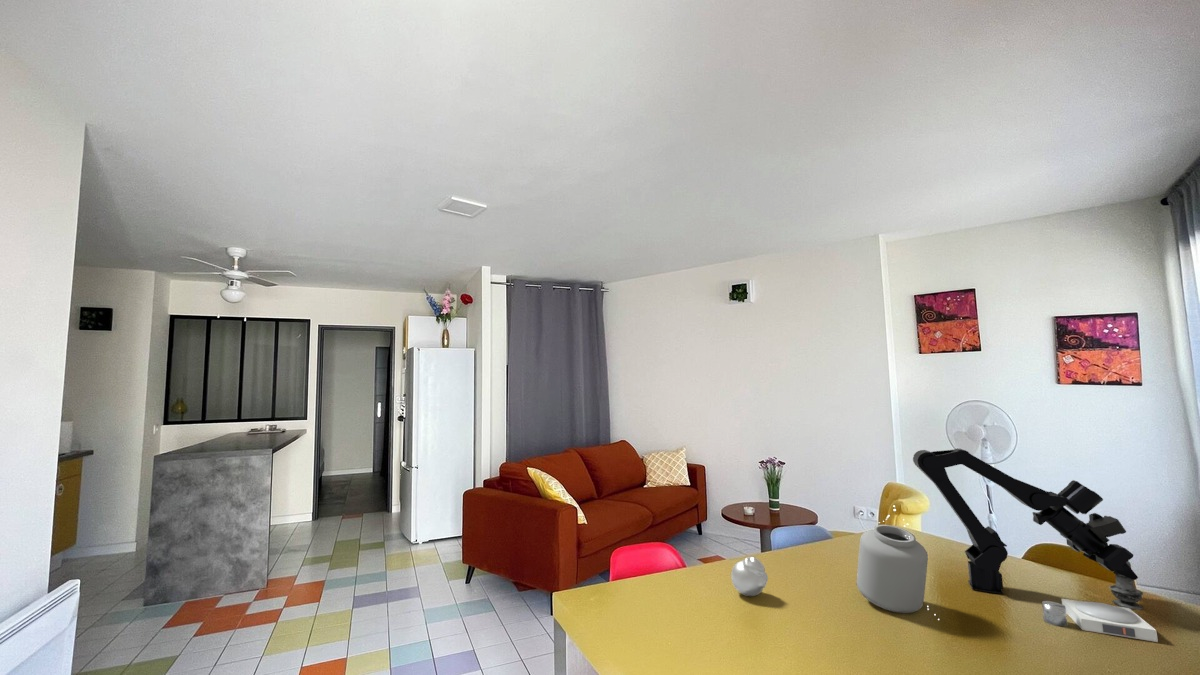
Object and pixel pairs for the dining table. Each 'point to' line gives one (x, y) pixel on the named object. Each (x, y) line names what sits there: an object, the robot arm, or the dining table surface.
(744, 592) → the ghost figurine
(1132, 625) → the scale
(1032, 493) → the robot arm
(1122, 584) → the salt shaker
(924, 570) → the jar
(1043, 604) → the spacer
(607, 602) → the dining table surface
